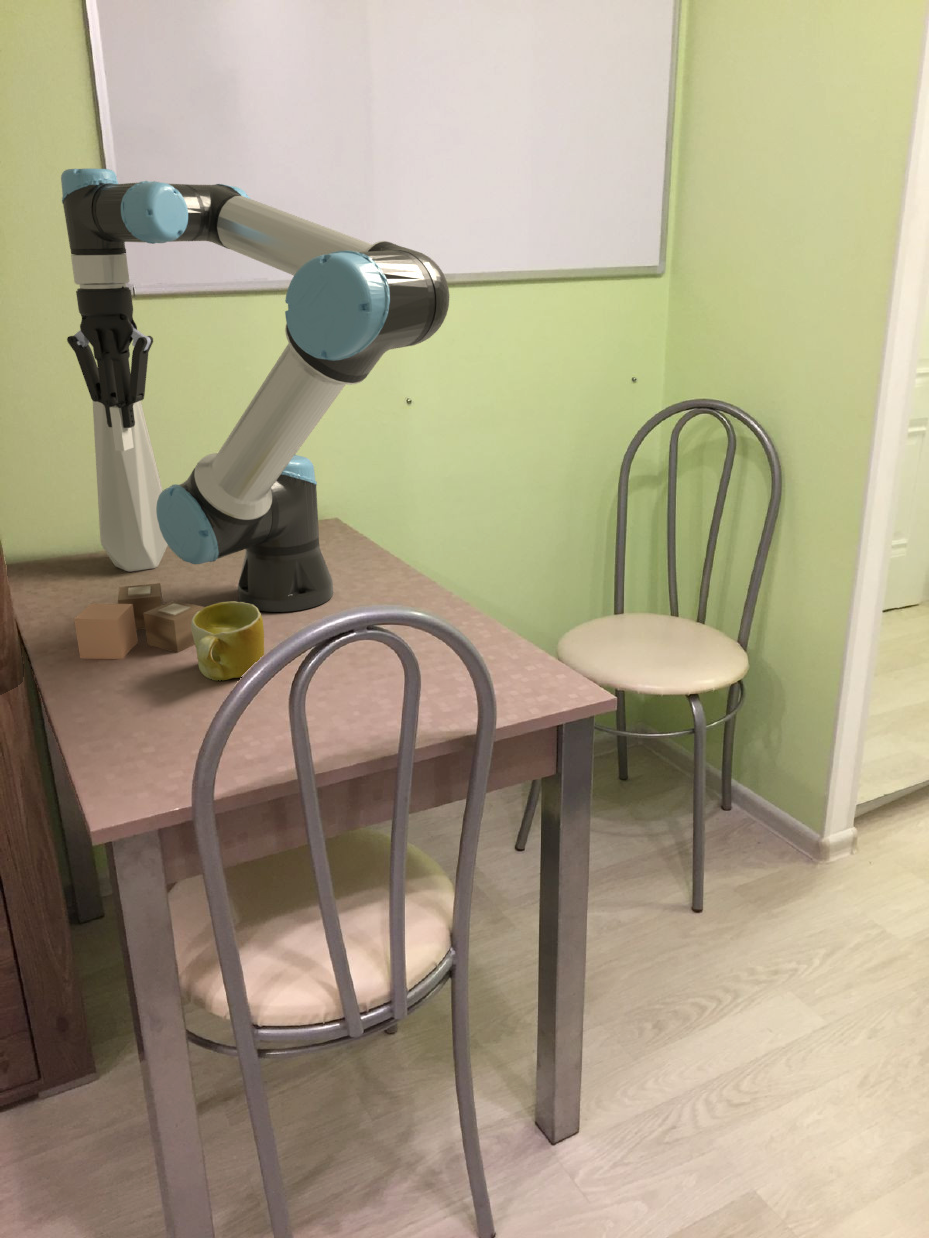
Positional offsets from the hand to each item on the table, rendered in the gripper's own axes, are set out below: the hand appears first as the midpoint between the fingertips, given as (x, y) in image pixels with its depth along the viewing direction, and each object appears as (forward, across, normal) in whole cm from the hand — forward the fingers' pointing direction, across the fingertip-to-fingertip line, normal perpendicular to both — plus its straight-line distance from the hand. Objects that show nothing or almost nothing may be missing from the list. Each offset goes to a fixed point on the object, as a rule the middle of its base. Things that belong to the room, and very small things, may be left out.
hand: (124, 448), depth 154 cm
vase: (+25, +10, -16) cm, 31 cm away
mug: (+25, -26, +24) cm, 43 cm away
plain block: (+25, -6, +20) cm, 32 cm away
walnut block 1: (+25, -5, +9) cm, 27 cm away
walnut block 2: (+25, -14, +15) cm, 32 cm away
